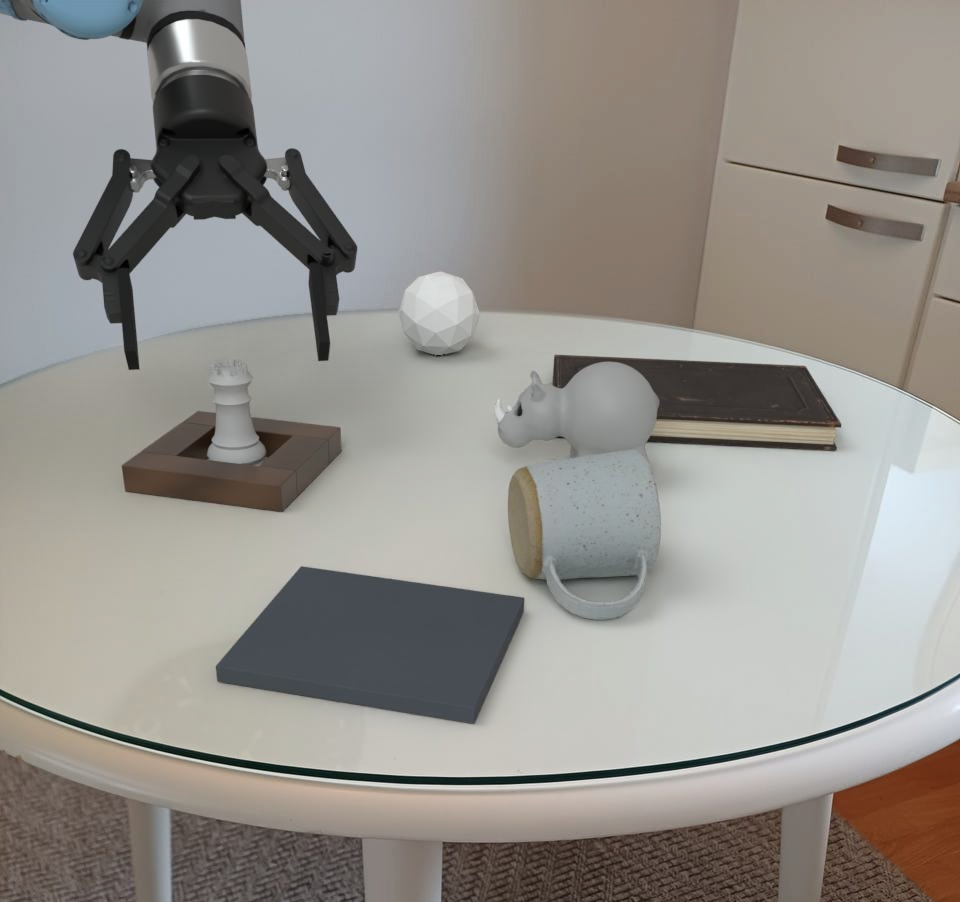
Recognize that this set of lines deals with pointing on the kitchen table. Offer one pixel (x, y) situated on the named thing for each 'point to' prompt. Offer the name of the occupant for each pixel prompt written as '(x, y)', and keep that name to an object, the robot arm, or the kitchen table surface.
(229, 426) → the rook chess piece
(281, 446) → the stand
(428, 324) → the geometric ball
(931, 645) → the kitchen table surface
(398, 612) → the mat
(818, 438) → the hardcover book
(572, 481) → the ceramic mug
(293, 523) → the kitchen table surface
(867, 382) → the kitchen table surface
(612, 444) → the chubby cartoon animal
